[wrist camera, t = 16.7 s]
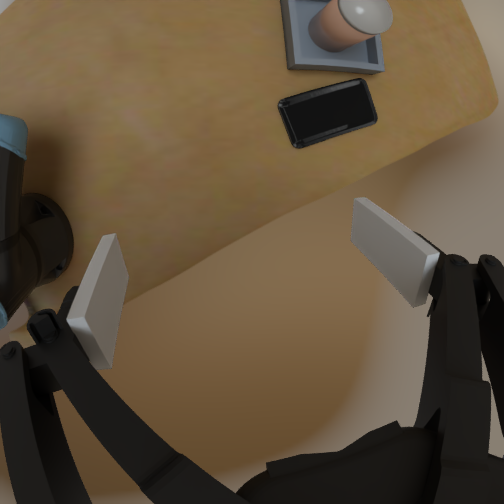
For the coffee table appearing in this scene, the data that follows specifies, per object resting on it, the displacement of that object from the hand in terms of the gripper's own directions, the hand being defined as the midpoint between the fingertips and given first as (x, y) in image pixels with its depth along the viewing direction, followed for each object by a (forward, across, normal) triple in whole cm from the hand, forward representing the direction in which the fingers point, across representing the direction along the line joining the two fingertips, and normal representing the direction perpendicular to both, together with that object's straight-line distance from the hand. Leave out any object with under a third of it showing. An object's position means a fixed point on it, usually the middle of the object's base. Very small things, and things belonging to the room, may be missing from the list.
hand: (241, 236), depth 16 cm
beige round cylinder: (+29, +20, +17) cm, 39 cm away
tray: (+30, +20, +17) cm, 40 cm away
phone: (+29, +19, +4) cm, 35 cm away
